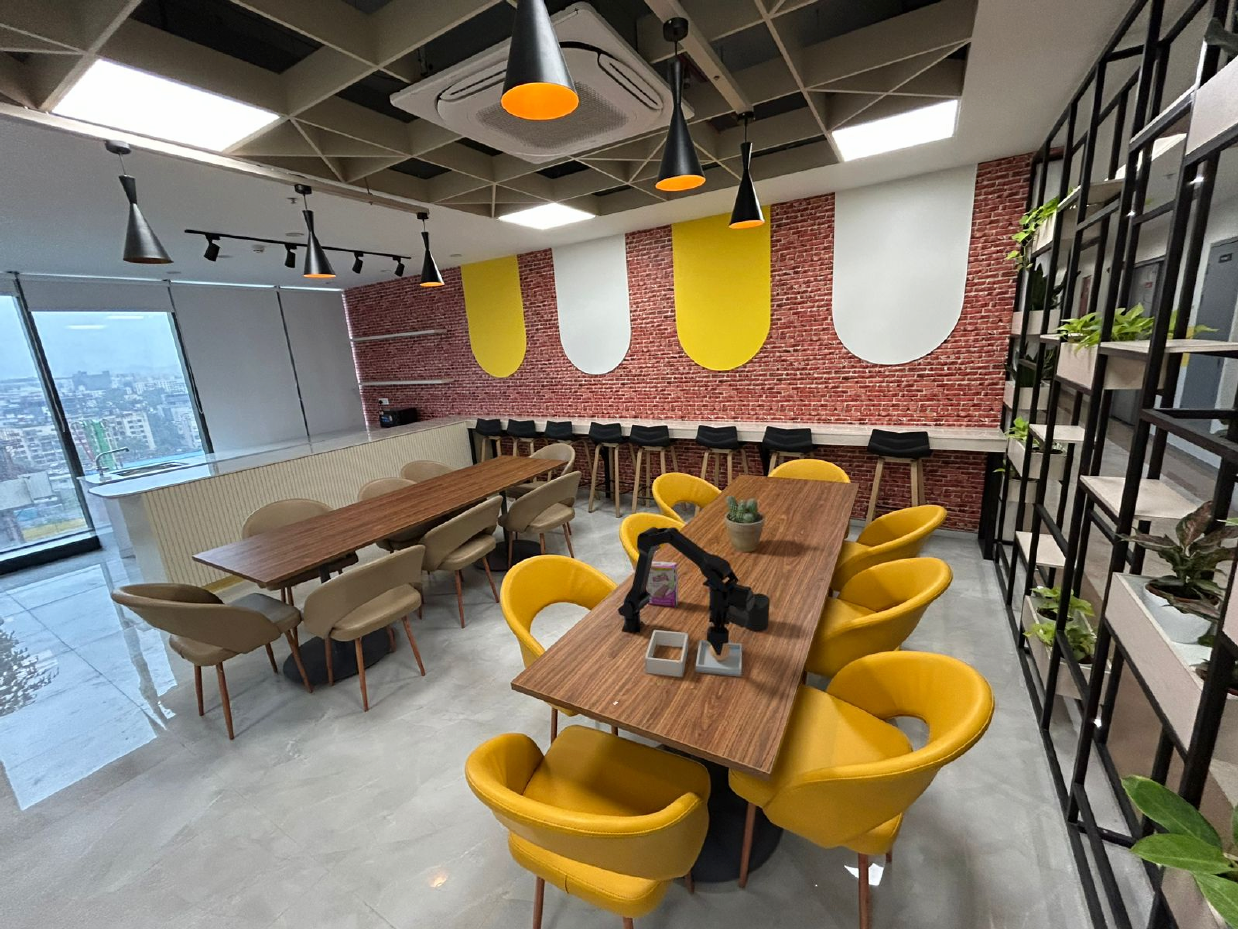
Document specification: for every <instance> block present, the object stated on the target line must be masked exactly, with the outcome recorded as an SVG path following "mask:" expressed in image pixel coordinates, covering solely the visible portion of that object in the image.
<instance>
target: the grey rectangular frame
mask: <svg viewBox="0 0 1238 929" xmlns="http://www.w3.org/2000/svg"><path fill="white" fill-rule="evenodd" d="M656 646H665V647H666V646H667V647H674V648H682V651H681V654H680V660H677V659H676V660H674V659H665V658H655V657H653V656H654V652H655V650H656ZM689 646H690V645H689V632H680V631H679V632H677V631H669V630H659V629H654V630H653V632H652V635H651V637H650V641H649V643H648V647H647V650H646V653H645V655H644V672H645V674H651V675H662V676H671V677H678V678H683V677H684V672H685V667H686V663H687V662H686V661H687V656H688V653H689V652H688V651H689Z"/></svg>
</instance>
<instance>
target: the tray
mask: <svg viewBox="0 0 1238 929" xmlns="http://www.w3.org/2000/svg"><path fill="white" fill-rule="evenodd" d="M710 645H711V644H710V642H708V641H707V640H705V639H704V640H703V639H700V640H699V642H698V649H697V655H696V662H695V673H703V674H710V675H711V674H712V675H721V676H729V677H730V676H731V677H738V678H742V667H743V666H742V661H743V660H742V658H743V644H742V643H737V642H736V643H735V642H729V643H727V645H728V647H729V655H728V656H727V658H726V659H724V660H716V659H714V658H713V657H712V656H711V654H710Z"/></svg>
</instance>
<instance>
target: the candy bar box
mask: <svg viewBox="0 0 1238 929" xmlns="http://www.w3.org/2000/svg"><path fill="white" fill-rule="evenodd" d="M678 574H679V573H678V562H673V561H672V562H669V561H657V560H652V564H651V569H650V573H649V577H648V582H647V586H646V590H647V592H648V593H650V594H651V596H650V598H649V603H648V604H647V605H653V606H654V605H655V606H665V607H675V608H676V607H677V605H678V602H679V583H678V582H679V579H678Z"/></svg>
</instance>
